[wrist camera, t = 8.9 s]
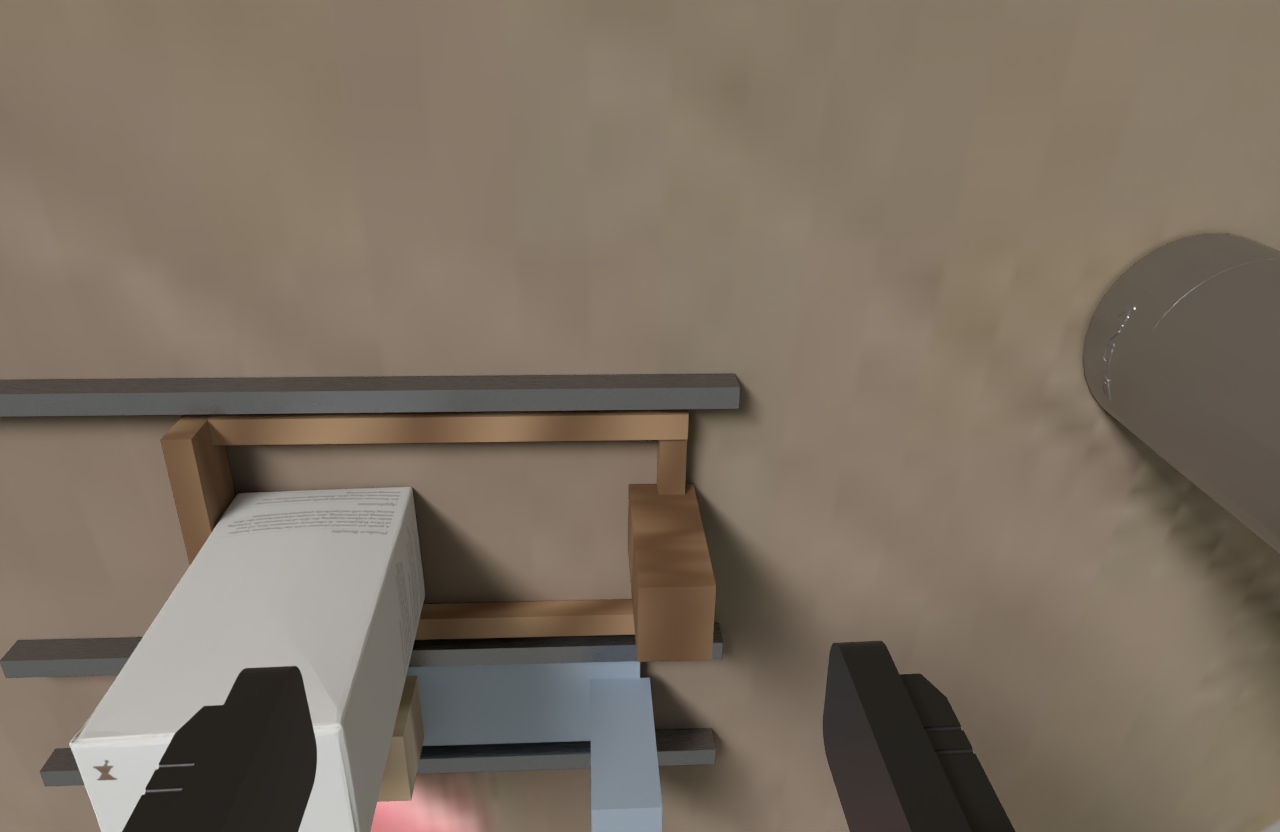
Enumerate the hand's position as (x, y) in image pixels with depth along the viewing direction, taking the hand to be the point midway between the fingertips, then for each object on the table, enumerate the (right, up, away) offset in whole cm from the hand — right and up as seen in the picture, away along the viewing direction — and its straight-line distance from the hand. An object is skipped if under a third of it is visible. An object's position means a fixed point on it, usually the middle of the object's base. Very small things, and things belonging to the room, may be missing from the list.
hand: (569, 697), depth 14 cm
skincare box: (-13, -2, +29) cm, 32 cm away
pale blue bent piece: (-8, -10, +33) cm, 35 cm away
